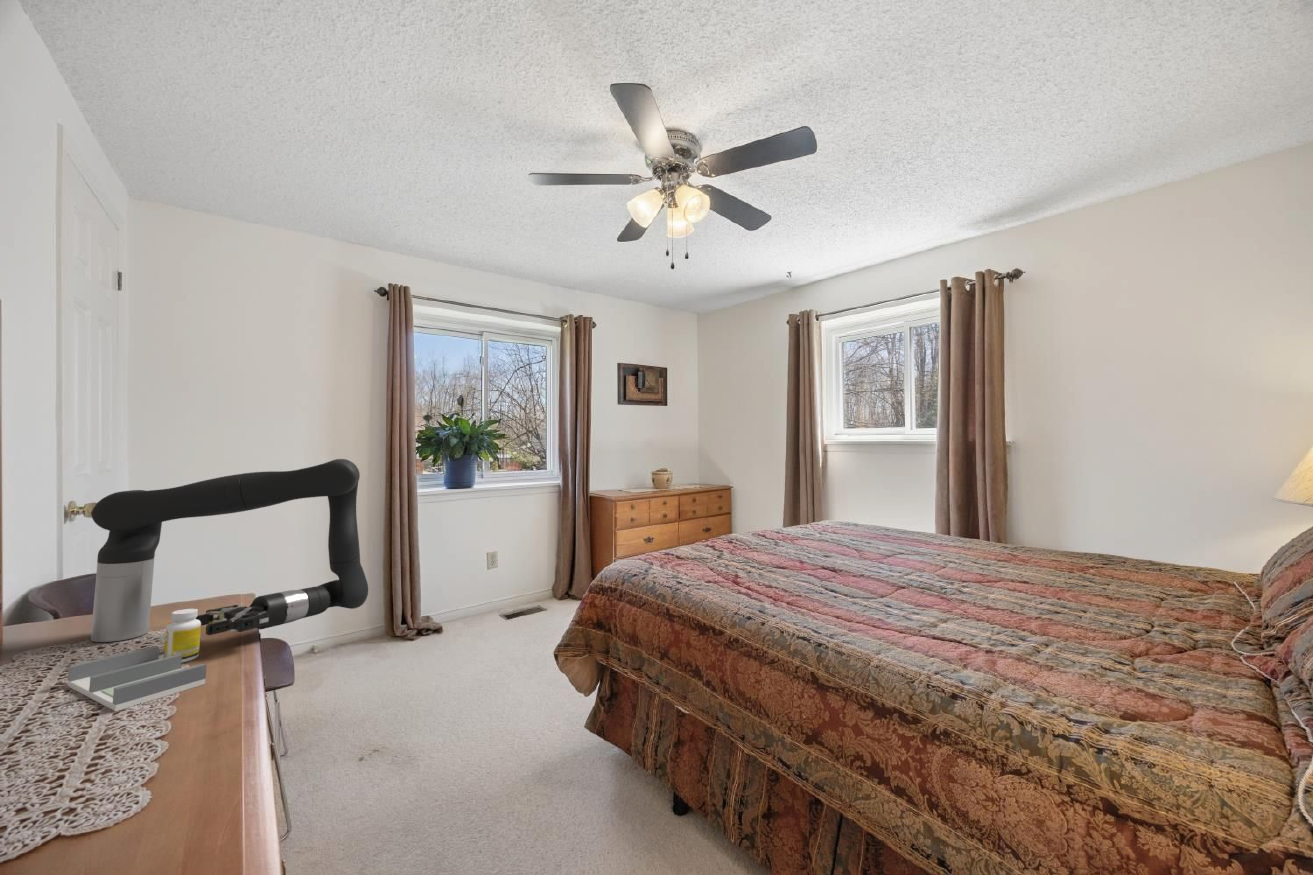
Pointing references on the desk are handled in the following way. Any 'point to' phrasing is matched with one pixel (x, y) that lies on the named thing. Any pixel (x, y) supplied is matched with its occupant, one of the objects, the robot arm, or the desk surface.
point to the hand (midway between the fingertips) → (196, 626)
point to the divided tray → (133, 678)
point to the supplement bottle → (183, 635)
